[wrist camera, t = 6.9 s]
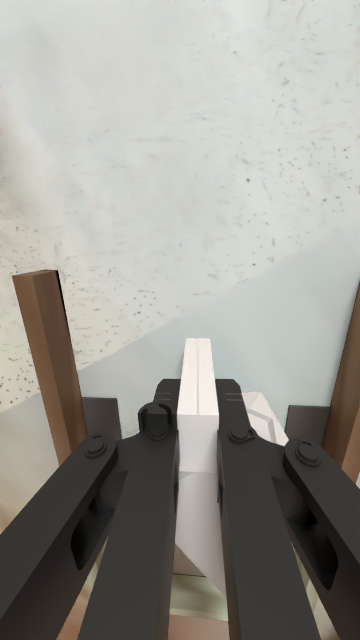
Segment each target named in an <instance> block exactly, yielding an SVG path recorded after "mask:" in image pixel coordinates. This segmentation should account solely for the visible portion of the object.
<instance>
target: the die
mask: <svg viewBox="0 0 360 640" xmlns="http://www.w3.org/2000/svg"><path fill="white" fill-rule="evenodd" d="M242 396H243V401H244V403H245V407H246V410H247V414H248V417H249V421H250V424H251V427H252V428H253V429H255V430H256V432H257V434H258V435H259V436H260V437H262V438H263V439H265V440H267V441H270V442H272V443H276V444H279V445H282V446H285V445H286V443H287V442H288V441H289V439H288V438H287V436H286V434H285V432H284V431H283V429H282V427H281V425H280V424H279V422H278V420H277V419H276V417H275V415H274V413H273V412H272V410H271V408H270V406H269V405H268V403H267V401H266V399H265V398H264V396H263V394H262V392H261V391H260V392H246V393H242ZM217 498H218V471H217V473H207V472H186V471H179V494H178V507H177V520H176V534H175V544H176V545H177V546H178V547H179V548H180V549H181V550H182V551H183V553H184V554H185V555H186V556H187V557H188V558H189V559H190V560H191V561H192V562H193V563H194V564H195V566H196V567H197V568H198V569H199V570H200V571H201V572H202V573H203V574H204V575H205V576H206V577H207V578H208V580H209V581H210V582H211V583H212V584H213V585H214V586H215V587H216V588H217V589H218V590H219V591H220V593H221V594H222V595H223V596H224V597H225V598H226V586H225V573H224V560H223V548H222V535H221V522H220V510H219V503H217Z"/></svg>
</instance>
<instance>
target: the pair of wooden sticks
mask: <svg viewBox="0 0 360 640" xmlns="http://www.w3.org/2000/svg"><path fill="white" fill-rule="evenodd" d="M12 279H13V283H14V286H15V290H16V294H17V298H18V302H19V306H20V310H21V314H22V318H23V322H24V326H25V330H26V334H27V338H28V342H29V346H30V350H31V354H32V358H33V362H34V366H35V370H36V374H37V378H38V382H39V386H40V390H41V394H42V398H43V402H44V406H45V410H46V414H47V418H48V422H49V426H50V430H51V434H52V438H53V442H54V446H55V450H56V454H57V458H58V462H59V466H61V464H62V463H63V462H64V461H65V460H66V459H67V457H68V456H69V455H70V454H71V453H72V452H73V451H74V449H75V448H76V447H77V446H78V445H79V444H80V443H81V442H82V441H83V440H84V439H85V438H87V437H89V436H91V435H93V434H97V433H109V434H111V435H113V437H114V438H115V440H116V441H118V440H122V437H121V429H120V421H119V413H118V405H117V398H92V397H81V392H80V387H79V381H78V376H77V370H76V365H75V360H74V354H73V349H72V343H71V338H70V332H69V327H68V322H67V316H66V311H65V305H64V300H63V295H62V289H61V284H60V278H59V273H58V270H40V271H35V272H29V273H24V274H19V275H13V276H12ZM285 434H286V436H287V438H288V439H289V440H292V439H294V438H302V439H306V440H309V441H312V442H314V443H316V444H317V445H319V446H320V447H322V448H323V449H324V450H325V451H326V452H327V453H328V454H329V455H330V456H331V457H332V458H333V460H334V461H335V462H336V463H337V464H338V465H339V466H340V467H341V469H342V470H343V471H344V472H345V473H346V474H347V475H348V476H349V478H350V479H351V480H352V481H353V482H354V483H355V484H356V481H357V478H358V475H359V472H360V284H359V289H358V293H357V297H356V301H355V305H354V310H353V314H352V318H351V322H350V326H349V330H348V335H347V339H346V343H345V347H344V351H343V355H342V360H341V364H340V368H339V372H338V376H337V380H336V385H335V389H334V393H333V397H332V401H331V406H330V408H329V407H319V406H294V405H289V410H288V416H287V422H286V428H285ZM107 539H108V538H107ZM106 542H107V540H106ZM106 542H105V544H104V546H103V548H102V550H101V552H100V554H99V556H98V558H97V559H96V561H95V563H94V565H93V567H92V569H91V571H90V573H89V575H88V581H89V585H90V589H91V592H92V589H93V586H94V582H95V579H96V576H97V572H98V569H99V566H100V562H101V559H102V556H103V552H104V549H105V546H106ZM295 557H296V560H297V563H298V566H299V570H300V573H301V576H302V579H303V583H304V586H305V589H306V592H307V596H308V599H309V602H310V605H311V609H312V612H313V613H314V610H315V607H316V603H317V600H318V597H319V596H318V594H317V592H316V590H315V588H314V586H313V584H312V582H311V580H310V578H309V576H308V574H307V572H306V570H305V568H304V566H303V564H302V562H301V560H300V558H299V556H298V554H297V552H295ZM169 614H171V615H180V616H189V617H197V618H206V619H215V620H224V621H228V611H227V599H226V598H225V597H224V596H223V595H222V594H221V593H220V591H219V590H218V589H217V588H216V587H215V586H214V585H213V584H212V583H211V582H210V581H209V580H208V578H207V577H199V576H189V575H179V574H172V586H171V599H170V613H169Z"/></svg>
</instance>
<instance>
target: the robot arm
mask: <svg viewBox="0 0 360 640" xmlns="http://www.w3.org/2000/svg"><path fill="white" fill-rule="evenodd" d="M138 421H139V430H140V432H139V433H138V434H136V435H134V436H132V437H129V438H126V439H122V440H118V441H116V440H115V438H114V437H113V435H111V434H109V433H97V434H93V435H91V436H89V437H87V438H85V439H84V440H83V441H82V442H81V443H80V444H79V445H78V446H77V447H76V448H75V449H74V451H73V452H72V453H71V454H70V455H69V456H68V457H67V459H66V460H65V461H64V462H63V463H62V464H61V466H60V467H59V468H58V469H57V470H56V471H55V472H54V474H53V475H52V476H51V477H50V478H49V479H48V480H47V482H46V483H45V484H44V485H43V486H42V487H41V488H40V490H39V491H38V492H37V493H36V494H35V495H34V497H33V498H32V499H31V500H30V501H29V502H28V503H27V505H26V506H25V507H24V508H23V509H22V510H21V511H20V513H19V514H18V515H17V516H16V517H15V518H14V520H13V521H12V522H11V523H10V524H9V525H8V526H7V528H6V529H5V530H4V531H3V532H2V533H1V534H0V640H56V639H57V637H58V635H59V633H60V631H61V629H62V627H63V625H64V623H65V621H66V619H67V617H68V615H69V613H70V611H71V609H72V607H73V605H74V603H75V601H76V599H77V597H78V595H79V593H80V591H81V589H82V587H83V585H84V583H85V581H86V579H87V577H88V575H89V573H90V571H91V569H92V567H93V565H94V563H95V561H96V559H97V558H98V556H99V554H100V552H101V550H102V548H103V546H104V544H105V542H106V540H107V542H106V546H105V549H104V552H103V556H102V559H101V562H100V566H99V569H98V572H97V576H96V579H95V582H94V586H93V589H92V592H91V595H90V599H89V602H88V605H87V609H86V612H85V615H84V619H83V622H82V625H81V629H80V632H79V635H78V639H77V640H167V639H168V626H169V613H170V599H171V586H172V573H173V560H174V547H175V534H176V520H177V507H178V494H179V471H186V472H207V473H217V471H218V498H217V503H219V510H220V522H221V535H222V548H223V560H224V573H225V586H226V599H227V611H228V624H229V637H230V640H321V638H320V635H319V632H318V628H317V625H316V622H315V618H314V615H313V612H312V609H311V605H310V602H309V599H308V596H307V592H306V589H305V586H304V583H303V579H302V576H301V573H300V570H299V566H298V563H297V560H296V557H295V553H294V550H293V547H294V549H295V550H296V552H297V554H298V556H299V558H300V560H301V562H302V564H303V566H304V568H305V570H306V572H307V574H308V576H309V578H310V580H311V582H312V584H313V586H314V588H315V590H316V592H317V594H318V596H319V598H320V600H321V602H322V604H323V606H324V608H325V610H326V612H327V614H328V616H329V618H330V620H331V622H332V624H333V626H334V628H335V630H336V632H337V634H338V636H339V638H340V640H360V489H359V488H358V487H357V485H356V484H355V483H354V482H353V481H352V480H351V479H350V478H349V476H348V475H347V474H346V473H345V472H344V471H343V470H342V469H341V467H340V466H339V465H338V464H337V463H336V462H335V461H334V460H333V458H332V457H331V456H330V455H329V454H328V453H327V452H326V451H325V450H324V449H323V448H322V447H320V446H319V445H317V444H316V443H314V442H312V441H309V440H306V439H302V438H294V439H292V440H289V441H288V442H287V443H286V445H285V446H282V445H279V444H276V443H272V442H270V441H267V440H265V439H263V438H262V437H260V436H259V435H258V434H257V432H256V430H255V429H253V428H252V427H251V424H250V421H249V417H248V414H247V410H246V407H245V403H244V401H243V396H242V393H241V389H240V386H239V385H238V384H237V383H236V382H235V380H234V379H215V378H214V370H213V361H212V353H211V345H210V338H186V343H185V351H184V360H183V368H182V376H181V379H163V380H162V381H161V382H160V383H159V384H158V385H157V389H156V394H155V396H154V400H153V402H151V403H148V404H146V405H144V406H143V407H142V408H141V409H140V410H139V412H138ZM107 538H108V539H107ZM292 545H293V547H292Z"/></svg>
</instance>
